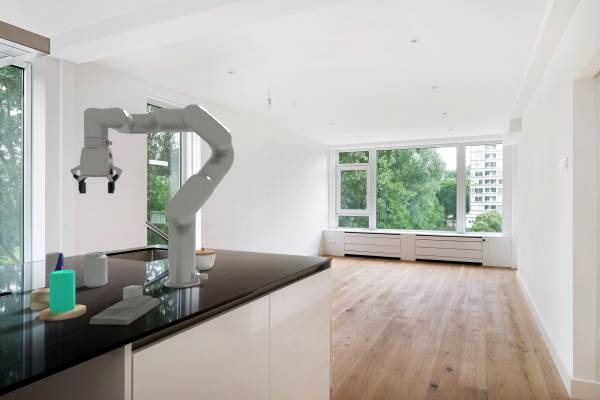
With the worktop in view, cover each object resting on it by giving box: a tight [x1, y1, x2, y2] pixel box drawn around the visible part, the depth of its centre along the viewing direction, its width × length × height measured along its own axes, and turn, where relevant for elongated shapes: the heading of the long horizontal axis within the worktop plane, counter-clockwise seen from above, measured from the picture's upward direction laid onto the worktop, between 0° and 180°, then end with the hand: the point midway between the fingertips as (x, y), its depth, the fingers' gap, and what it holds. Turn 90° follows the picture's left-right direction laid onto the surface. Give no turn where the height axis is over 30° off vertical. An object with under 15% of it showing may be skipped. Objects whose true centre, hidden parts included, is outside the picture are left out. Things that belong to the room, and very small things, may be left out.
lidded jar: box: [196, 247, 216, 271], centre depth 172 cm, size 11×11×9 cm
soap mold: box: [88, 294, 161, 326], centre depth 107 cm, size 10×20×4 cm, turn 176°
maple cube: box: [30, 287, 50, 311], centre depth 113 cm, size 5×5×5 cm
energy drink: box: [45, 251, 65, 288], centre depth 139 cm, size 5×5×12 cm
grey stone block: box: [122, 284, 144, 300], centre depth 121 cm, size 4×4×4 cm
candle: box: [49, 265, 76, 313], centre depth 106 cm, size 6×6×12 cm
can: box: [83, 251, 109, 288], centre depth 140 cm, size 8×8×12 cm
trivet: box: [38, 303, 87, 322], centre depth 106 cm, size 11×11×1 cm
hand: (96, 193), depth 135 cm, fingers open, 9 cm apart
